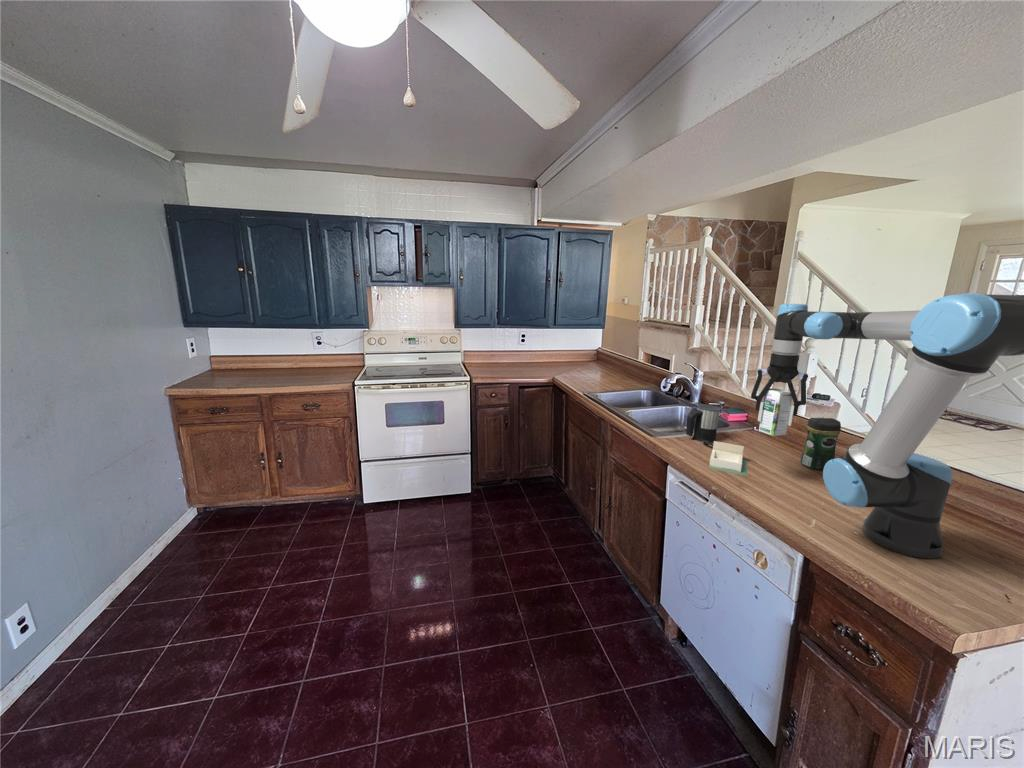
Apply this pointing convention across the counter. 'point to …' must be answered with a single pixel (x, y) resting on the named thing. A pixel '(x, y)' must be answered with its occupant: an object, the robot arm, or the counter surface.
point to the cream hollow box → (726, 456)
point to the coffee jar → (820, 442)
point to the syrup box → (775, 412)
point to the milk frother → (703, 423)
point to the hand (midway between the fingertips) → (773, 422)
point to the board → (743, 471)
